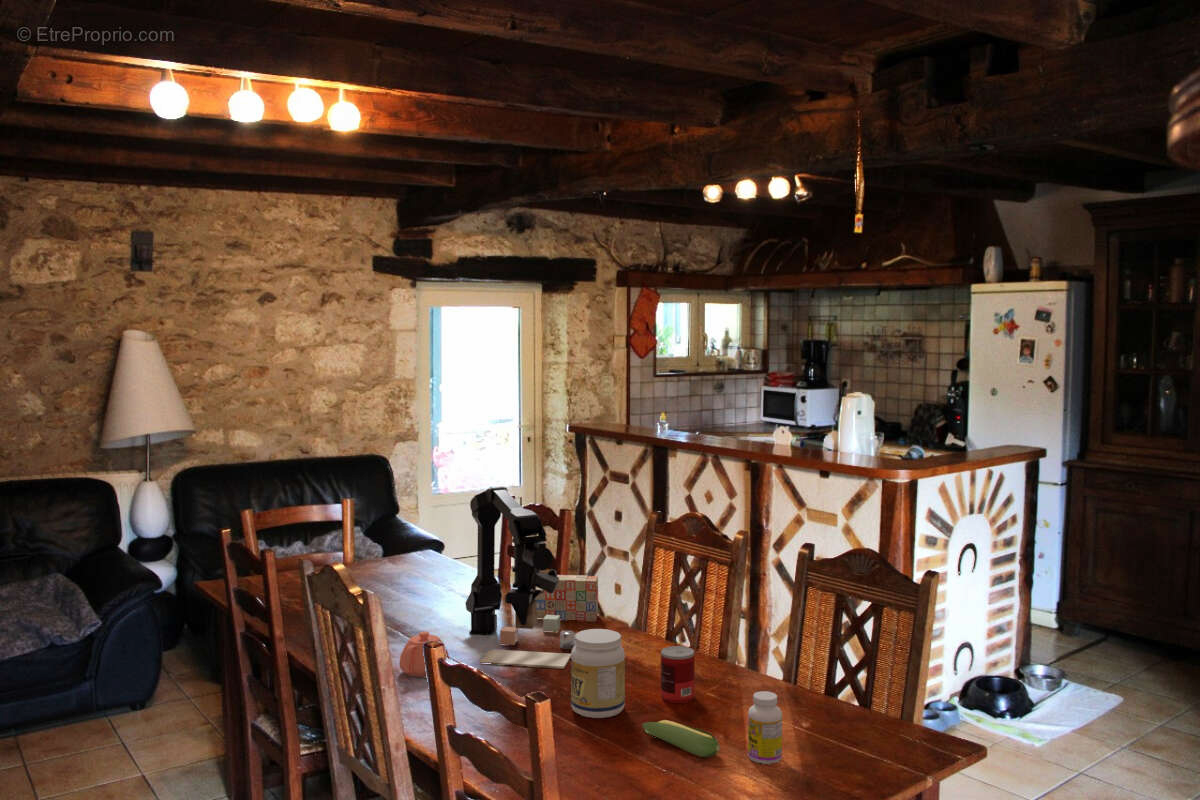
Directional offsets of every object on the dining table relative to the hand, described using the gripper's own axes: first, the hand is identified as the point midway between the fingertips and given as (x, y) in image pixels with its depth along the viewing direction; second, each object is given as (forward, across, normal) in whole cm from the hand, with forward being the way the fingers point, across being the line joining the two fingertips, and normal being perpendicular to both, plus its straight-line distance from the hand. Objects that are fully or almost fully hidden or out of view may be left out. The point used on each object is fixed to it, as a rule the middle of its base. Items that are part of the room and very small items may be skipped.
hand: (525, 622), depth 253 cm
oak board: (+10, 0, 0) cm, 10 cm away
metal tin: (+10, +12, -8) cm, 18 cm away
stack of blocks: (+10, +39, -1) cm, 41 cm away
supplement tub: (+10, -30, -24) cm, 40 cm away
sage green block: (+10, +26, -1) cm, 28 cm away
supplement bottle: (+10, -50, -61) cm, 80 cm away
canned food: (+10, -20, -41) cm, 47 cm away
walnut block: (+1, 0, 0) cm, 1 cm away
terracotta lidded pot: (+10, -14, +23) cm, 29 cm away
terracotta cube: (+10, +13, +8) cm, 18 cm away
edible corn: (+10, -46, -44) cm, 65 cm away
